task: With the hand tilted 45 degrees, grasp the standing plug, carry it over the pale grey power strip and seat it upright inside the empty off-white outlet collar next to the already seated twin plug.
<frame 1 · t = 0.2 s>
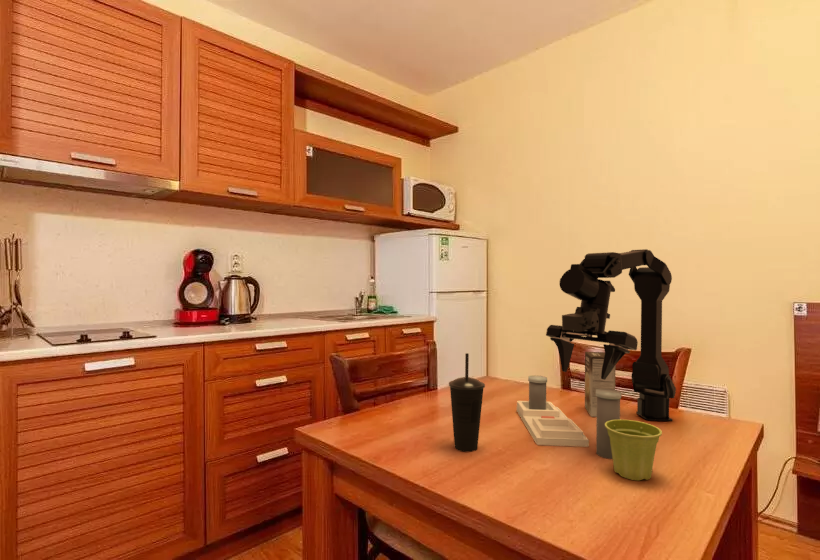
hand: (582, 375, 94), 15 cm above the table, tool tilted 15°, fingers open, 9 cm apart
plug: (607, 454, 89), on the table
coffee box: (599, 413, 119), on the table
plant pot: (632, 475, 80), on the table
drinking cup: (466, 448, 92), on the table
power strip: (548, 426, 106), on the table
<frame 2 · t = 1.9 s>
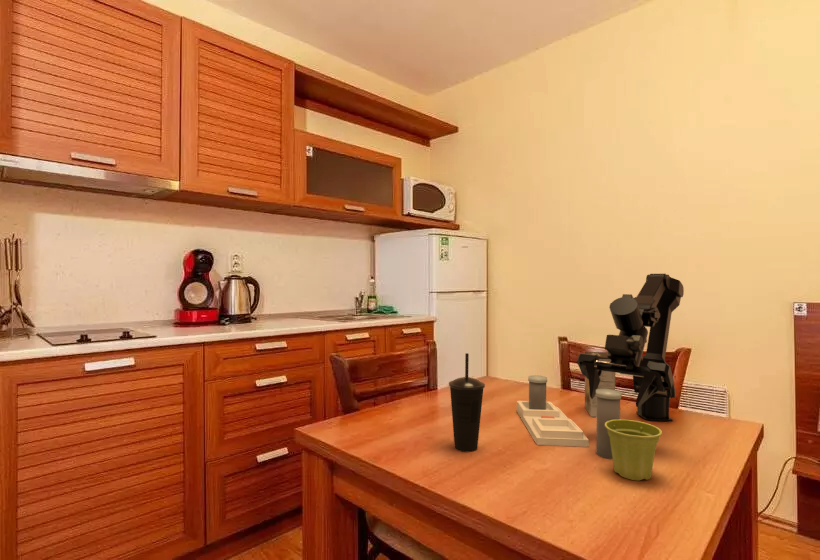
hand: (613, 401, 92), 10 cm above the table, tool tilted 45°, fingers open, 9 cm apart
nothing on the table moved.
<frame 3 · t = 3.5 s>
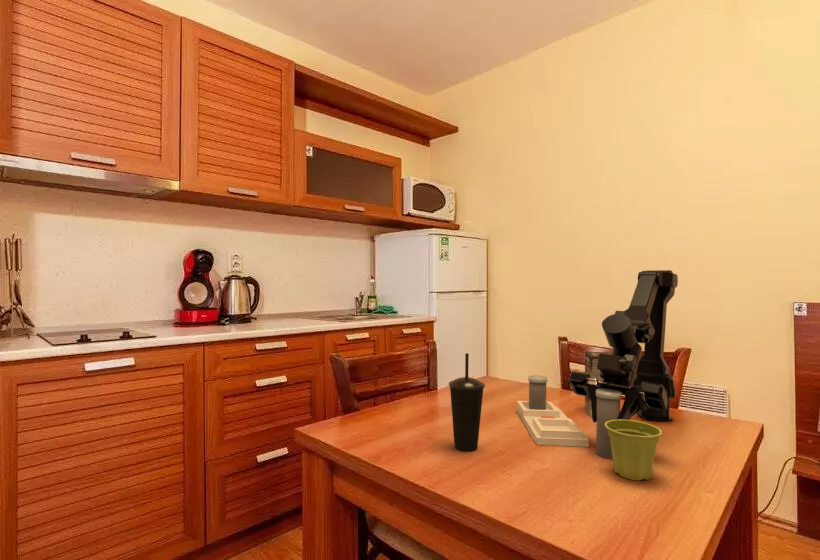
hand: (605, 424, 88), 7 cm above the table, tool tilted 45°, fingers closed on plug, 4 cm apart
plug: (607, 454, 89), on the table, touching gripper
everything else where it was.
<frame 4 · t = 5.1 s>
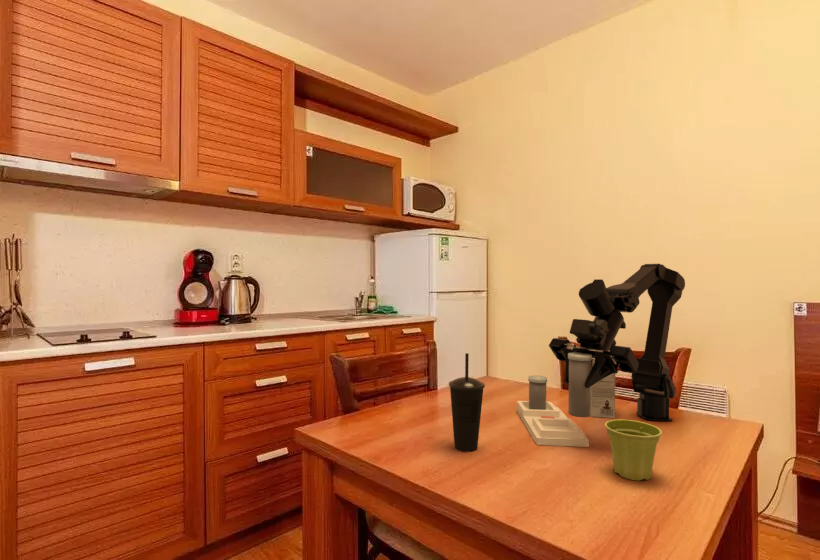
hand: (575, 384, 93), 13 cm above the table, tool tilted 45°, fingers closed on plug, 4 cm apart
plug: (579, 414, 94), point 7 cm above the table, touching gripper
everything else where it was.
when the fingers open (9 cm above the table, at t = 6.7 s): plug stays where it is, resting on power strip.
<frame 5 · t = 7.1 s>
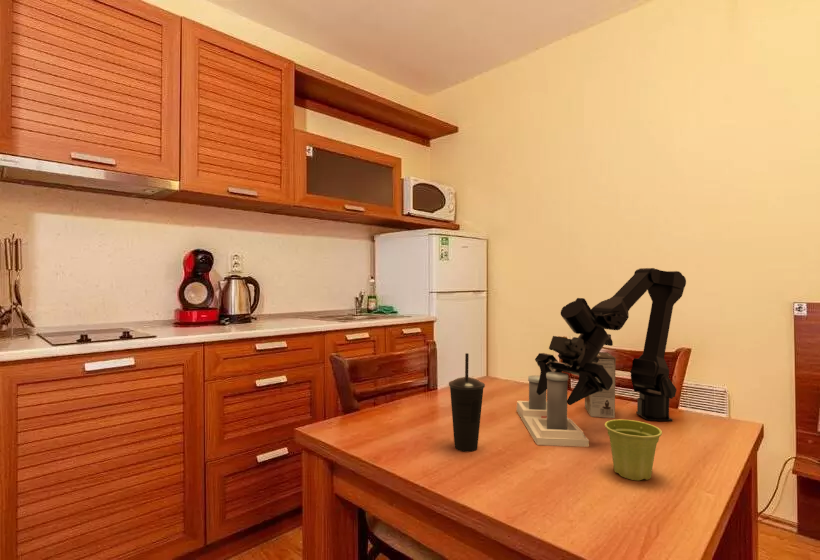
hand: (552, 398, 98), 9 cm above the table, tool tilted 45°, fingers open, 9 cm apart
plug: (556, 431, 99), point 2 cm above the table, touching power strip
everything else where it was.
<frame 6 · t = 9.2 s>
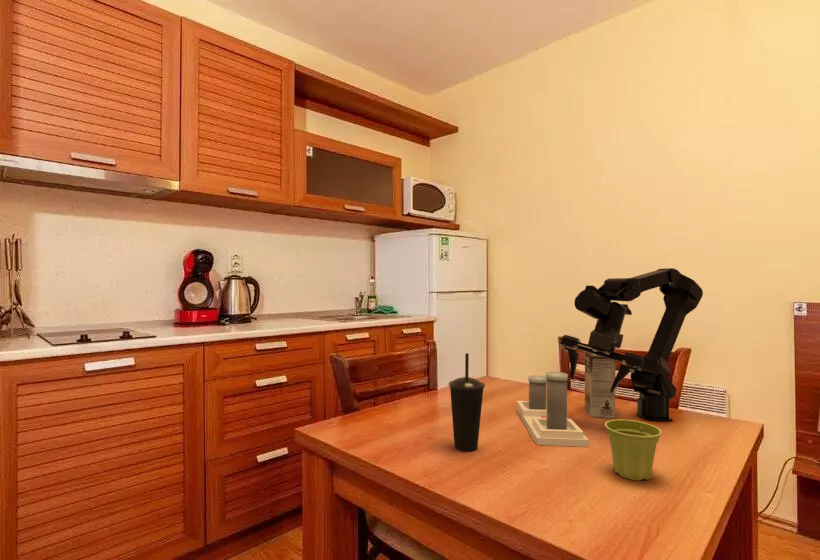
hand: (590, 385, 105), 10 cm above the table, tool tilted 20°, fingers open, 9 cm apart
nothing on the table moved.
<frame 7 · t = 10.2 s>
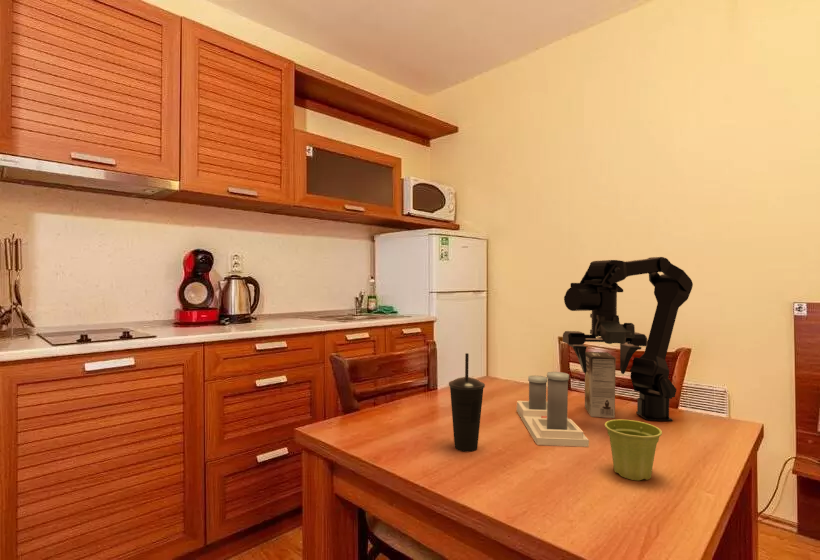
hand: (603, 373, 108), 13 cm above the table, tool pointing down, fingers open, 9 cm apart
nothing on the table moved.
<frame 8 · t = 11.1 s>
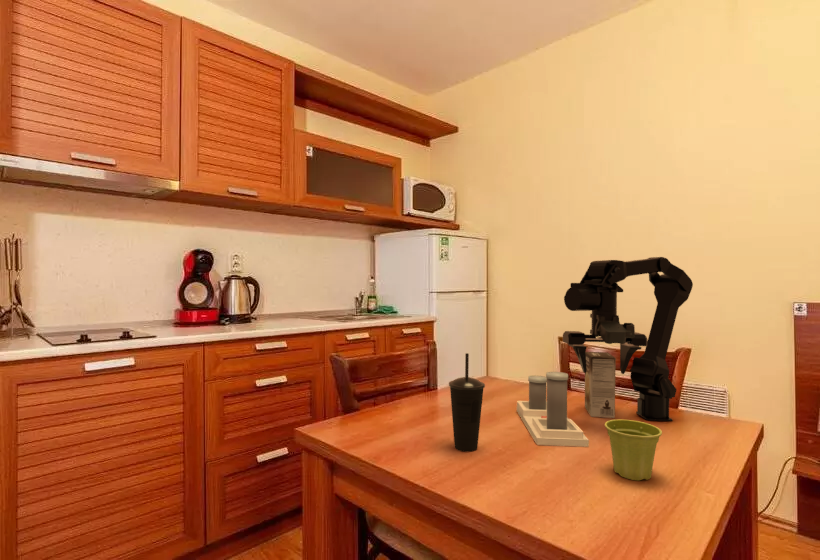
hand: (603, 373, 108), 13 cm above the table, tool pointing down, fingers open, 9 cm apart
nothing on the table moved.
at the end: plug 0.1 cm from the target spot, point 1.5 cm above the table; plug tilted 1°; the gripper is holding nothing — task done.
